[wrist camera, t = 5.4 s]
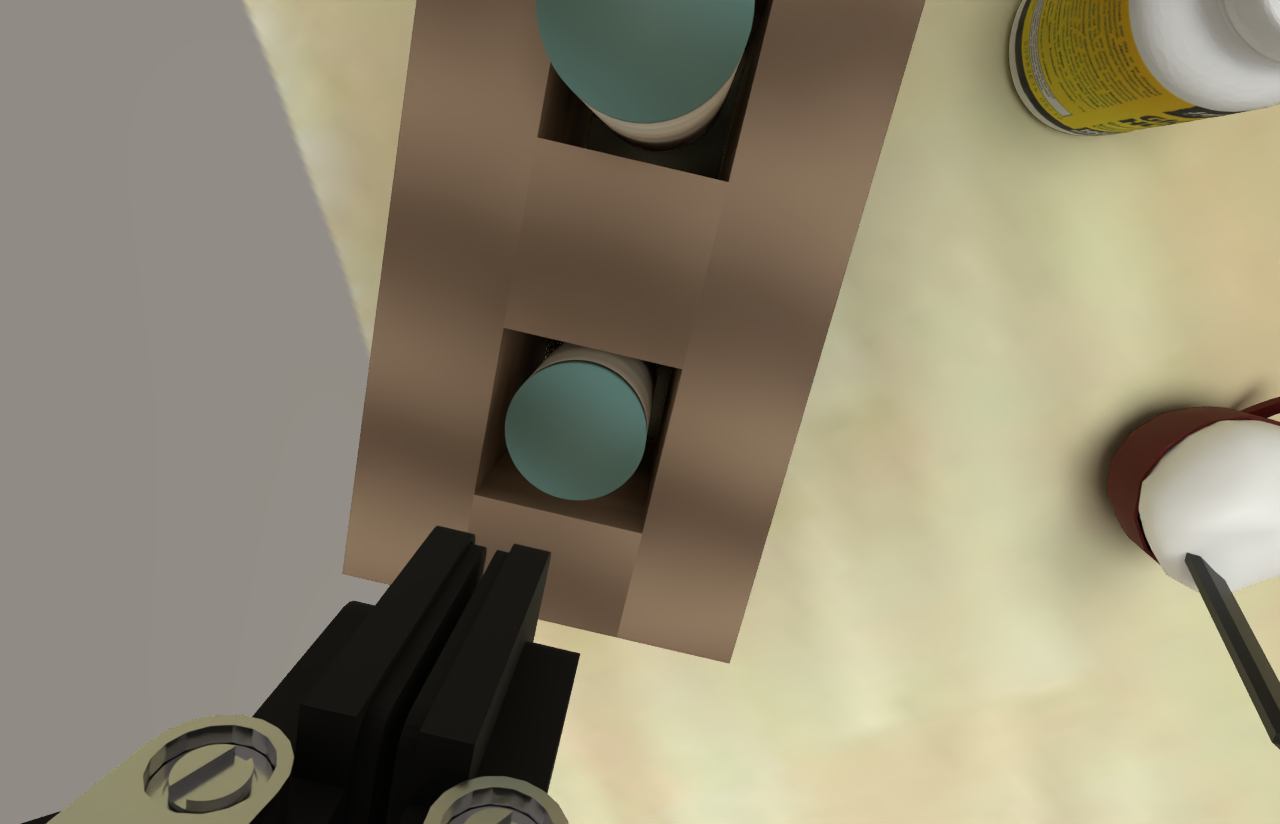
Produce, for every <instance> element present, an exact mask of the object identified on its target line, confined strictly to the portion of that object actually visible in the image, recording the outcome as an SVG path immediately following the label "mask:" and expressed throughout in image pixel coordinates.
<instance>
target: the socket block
mask: <svg viewBox="0 0 1280 824" xmlns="http://www.w3.org/2000/svg"><path fill="white" fill-rule="evenodd" d="M924 4H925V0H755V5H754V16H753V22H752V27H751V31H750V35H749V38H748V41H747V43H749V44H750V48H749V52H748V56H747V60H746V64H745V68H744V73H743V77H742V81H741V85H740V89H739V93H738V97H737V102H736V106H735V110H734V114H733V118H732V122H731V126H730V130H729V135H728V139H727V143H726V147H725V151H724V155H723V159H722V164H721V168H720V172H719V176H718V180H717V179H713V178H709V177H704V176H700V175H696V174H692V173H687V172H683V171H679V170H675V169H670V168H666V167H662V166H657V165H653V164H649V163H645V162H640V161H636V160H632V159H627V158H623V157H619V156H615V155H610V154H606V153H602V152H598V151H593V150H589V149H585V145H586V140H587V135H588V130H589V125H590V120H591V115H592V110H591V109H590V108H589V107H588V106H587V105H586V104H585V103H584V102H583V101H582V100H581V99H580V98H579V97H578V96H577V95H576V94H575V93H574V92H573V91H572V90H571V89H570V88H569V87H568V86H567V84H566V83H565V82H564V81H563V80H562V79H561V77H560V76H559V74H558V73H557V71H556V70H555V69H554V67H553V65H552V63H551V61H550V59H549V57H548V55H547V53H546V50H545V48H544V45H543V43H542V40H541V36H540V32H539V28H538V22H537V14H536V0H417V1H416V9H415V17H414V25H413V32H412V40H411V48H410V56H409V63H408V71H407V79H406V86H405V94H404V102H403V110H402V117H401V125H400V133H399V140H398V148H397V156H396V164H395V171H394V179H393V187H392V195H391V202H390V210H389V218H388V225H387V233H386V241H385V249H384V256H383V264H382V272H381V280H380V287H379V295H378V303H377V310H376V318H375V326H374V334H373V341H372V349H371V357H370V364H369V372H368V380H367V388H366V395H365V403H364V411H363V419H362V426H361V434H360V442H359V450H358V457H357V465H356V473H355V480H354V488H353V496H352V504H351V511H350V520H349V527H348V535H347V542H346V551H345V558H344V565H343V573H342V574H345V575H350V576H354V577H359V578H362V579H367V580H371V581H376V582H380V583H384V584H389V585H391V584H392V583H393V581H394V580H395V579H396V577H397V576H398V575H399V574H400V572H401V571H402V570H403V568H404V567H405V566H406V564H407V563H408V562H409V560H410V559H411V558H412V556H413V555H414V554H415V553H416V551H417V550H418V549H419V547H420V546H421V545H422V543H423V542H424V541H425V539H426V538H427V537H428V535H429V534H430V533H431V531H432V530H433V529H434V528H435V527H436V526H442V527H447V528H451V529H455V530H459V531H464V532H468V533H472V534H475V537H476V538H475V545H479V546H484V547H486V548H487V554H486V560H485V566H484V571H483V574H484V573H485V571H486V569H487V567H488V565H489V563H490V561H491V560H492V558H493V556H494V554H495V552H496V551H497V550H501V551H505V552H510V550H511V548H512V546H513V544H519V545H524V546H528V547H532V548H536V549H541V550H545V551H549V552H551V559H550V564H549V569H548V574H547V579H546V583H545V588H544V593H543V598H542V602H541V607H540V612H539V617H538V619H540V620H544V621H548V622H552V623H557V624H561V625H565V626H570V627H574V628H578V629H583V630H587V631H591V632H596V633H600V634H604V635H609V636H613V637H617V638H622V639H626V640H630V641H634V642H639V643H643V644H647V645H652V646H656V647H660V648H665V649H669V650H673V651H678V652H682V653H686V654H691V655H695V656H699V657H704V658H708V659H712V660H717V661H721V662H725V663H730V660H731V657H732V653H733V650H734V647H735V643H736V640H737V636H738V633H739V630H740V626H741V623H742V619H743V616H744V613H745V609H746V606H747V603H748V599H749V596H750V592H751V589H752V586H753V582H754V579H755V575H756V572H757V569H758V565H759V562H760V559H761V555H762V552H763V548H764V545H765V542H766V538H767V535H768V531H769V528H770V525H771V521H772V518H773V515H774V511H775V508H776V504H777V501H778V498H779V494H780V491H781V488H782V484H783V481H784V477H785V474H786V471H787V467H788V464H789V460H790V457H791V454H792V450H793V447H794V444H795V440H796V437H797V433H798V430H799V427H800V423H801V420H802V416H803V413H804V410H805V406H806V403H807V400H808V396H809V393H810V389H811V386H812V383H813V379H814V376H815V372H816V369H817V366H818V362H819V359H820V356H821V352H822V349H823V345H824V342H825V339H826V335H827V332H828V328H829V325H830V322H831V318H832V315H833V312H834V308H835V305H836V301H837V298H838V295H839V291H840V288H841V285H842V281H843V278H844V274H845V271H846V268H847V264H848V261H849V257H850V254H851V251H852V247H853V244H854V241H855V237H856V234H857V230H858V227H859V224H860V220H861V217H862V213H863V210H864V207H865V203H866V200H867V197H868V193H869V190H870V186H871V183H872V180H873V176H874V173H875V169H876V166H877V163H878V159H879V156H880V153H881V149H882V146H883V142H884V139H885V136H886V132H887V129H888V125H889V122H890V119H891V115H892V112H893V109H894V105H895V102H896V98H897V95H898V92H899V88H900V85H901V81H902V78H903V75H904V71H905V68H906V65H907V61H908V58H909V54H910V51H911V48H912V44H913V41H914V38H915V34H916V31H917V27H918V24H919V21H920V17H921V14H922V10H923V7H924ZM548 338H550V339H554V340H559V341H563V342H567V343H572V344H576V345H580V346H584V347H589V348H593V349H597V350H602V351H606V352H610V353H614V354H619V355H623V356H627V357H632V358H636V359H640V360H644V361H649V362H653V363H657V364H662V365H666V366H670V367H672V370H671V374H670V379H669V383H668V387H667V391H666V395H665V399H664V403H663V407H662V412H661V416H660V420H659V424H658V428H657V432H656V436H655V441H653V440H649V439H646V444H645V450H644V453H643V456H642V459H641V461H640V463H639V466H638V467H637V469H636V470H635V472H634V473H633V475H632V476H631V477H630V478H629V479H628V480H627V481H626V482H625V483H624V484H623V485H622V486H620V487H619V488H617V489H616V490H614V491H613V492H611V493H609V494H607V495H604V496H601V497H598V498H594V499H589V500H568V499H562V498H558V497H555V496H552V495H550V494H547V493H545V492H543V491H542V490H540V489H538V488H536V487H535V486H534V485H533V484H531V483H530V482H529V481H528V480H527V479H526V478H525V477H524V476H523V475H522V474H521V473H520V471H519V470H518V469H517V467H516V466H515V464H514V462H513V461H512V458H511V456H510V454H509V451H508V448H507V445H506V438H505V420H506V415H507V411H508V408H509V406H510V403H511V401H512V399H513V397H514V396H515V394H516V392H517V391H518V390H519V389H520V387H521V386H522V385H523V384H524V383H525V382H526V381H527V379H528V378H529V377H530V376H531V375H532V374H533V373H534V372H535V371H536V369H537V368H538V367H539V366H540V365H541V364H542V363H543V362H544V357H545V352H546V347H547V342H548Z"/></svg>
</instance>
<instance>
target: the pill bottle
mask: <svg viewBox="0 0 1280 824" xmlns="http://www.w3.org/2000/svg"><path fill="white" fill-rule="evenodd" d="M1009 63H1010V69H1011V75H1012V79H1013V82H1014V85H1015V88H1016V90H1017V93H1018V95H1019V96H1020V98H1021V100H1022V101H1023V103H1024V104H1025V106H1026V107H1027V108H1028V109H1029V110H1030V111H1031V113H1032V114H1033V115H1035V116H1036V117H1037V118H1038V119H1039V120H1040V121H1042V122H1043V123H1045V124H1046V125H1048V126H1050V127H1052V128H1054V129H1056V130H1059V131H1062V132H1065V133H1069V134H1073V135H1082V136H1098V135H1111V134H1118V133H1125V132H1129V131H1133V130H1139V129H1145V128H1151V127H1158V126H1165V125H1171V124H1177V123H1182V122H1189V121H1194V120H1200V119H1206V118H1212V117H1218V116H1224V115H1230V114H1235V113H1240V112H1246V111H1251V110H1257V109H1261V108H1267V107H1270V106H1273V105H1277V104H1280V0H1022V2H1021V4H1020V6H1019V9H1018V11H1017V13H1016V16H1015V19H1014V23H1013V26H1012V30H1011V35H1010V42H1009Z"/></svg>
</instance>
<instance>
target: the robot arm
mask: <svg viewBox="0 0 1280 824" xmlns="http://www.w3.org/2000/svg"><path fill="white" fill-rule="evenodd" d="M475 538H476V537H475V534H472V533H468V532H464V531H459V530H455V529H451V528H447V527H442V526H436V527H435V528H434V529H433V530H432V531H431V533H430V534H429V535H428V537H427V538H426V539H425V541H424V542H423V543H422V545H421V546H420V547H419V549H418V550H417V551H416V553H415V554H414V555H413V556H412V558H411V559H410V560H409V562H408V563H407V564H406V566H405V567H404V568H403V570H402V571H401V572H400V574H399V575H398V576H397V577H396V579H395V580H394V581H393V583H392V584H391V585H390V587H389V588H388V589H387V591H386V592H385V593H384V595H383V596H382V597H381V599H380V600H379V602H378V603H377V604H376V605H375V606H374V605H370V604H366V603H361V602H357V601H351V602H349V603H348V604H347V605H346V606H344V607H343V608H342V610H341V611H340V612H339V613H338V614H337V616H336V617H335V618H334V619H333V620H332V622H331V623H330V624H329V625H328V626H327V628H326V629H325V630H324V631H323V633H322V634H321V635H320V636H319V637H318V638H317V640H316V641H315V642H314V643H313V645H312V646H311V647H310V648H309V649H308V650H307V652H306V653H305V654H304V655H303V656H302V658H301V659H300V660H299V661H298V662H297V664H296V665H295V666H294V667H293V668H292V670H291V671H290V672H289V673H288V674H287V676H286V677H285V678H284V679H283V680H282V682H281V683H280V684H279V685H278V686H277V688H276V689H275V690H274V691H273V693H272V694H271V695H270V696H269V697H268V698H267V700H266V701H265V702H264V703H263V704H262V706H261V707H260V708H259V709H258V710H257V712H256V713H255V714H254V715H253V716H252V717H249V716H244V715H215V716H210V717H204V718H199V719H194V720H191V721H188V722H186V723H183V724H180V725H178V726H175V727H172V728H170V729H168V730H167V731H165V732H163V733H162V734H160V735H159V736H157V737H156V738H154V739H152V740H151V741H149V742H148V743H146V744H145V745H144V746H143V747H141V748H140V749H139V750H138V751H137V752H135V753H134V754H133V755H131V756H130V757H129V758H128V759H126V760H125V761H124V762H123V763H121V764H120V765H119V766H118V767H116V768H115V769H114V770H112V771H111V772H110V773H109V774H107V775H106V776H105V777H104V778H102V779H101V780H100V781H99V782H98V783H96V784H95V785H94V786H92V787H91V788H90V789H89V790H87V791H86V792H85V793H84V794H82V795H81V796H80V797H79V798H77V799H76V800H75V801H74V802H72V803H71V804H70V805H69V806H67V807H66V808H65V809H64V810H62V811H60V812H57V813H53V814H50V815H47V816H44V817H41V818H38V819H34V820H32V821H28V822H25V823H22V824H569V823H568V820H567V819H566V817H565V815H564V813H563V811H562V810H561V808H560V806H559V805H558V804H557V803H556V802H555V801H554V800H553V799H552V798H551V797H550V796H549V795H548V794H547V793H548V789H549V784H550V780H551V776H552V772H553V768H554V764H555V759H556V755H557V751H558V747H559V742H560V738H561V734H562V730H563V725H564V721H565V717H566V713H567V708H568V704H569V700H570V695H571V691H572V687H573V683H574V678H575V674H576V670H577V665H578V661H579V657H580V653H576V652H571V651H567V650H563V649H558V648H554V647H550V646H546V645H541V644H537V643H533V640H534V636H535V631H536V626H537V621H538V617H539V612H540V607H541V602H542V598H543V593H544V588H545V583H546V579H547V574H548V569H549V564H550V559H551V552H549V551H545V550H541V549H536V548H532V547H528V546H524V545H519V544H513V546H512V548H511V550H510V552H505V551H501V550H497V551H496V552H495V554H494V556H493V558H492V560H491V561H490V563H489V565H488V567H487V569H486V571H485V573H484V574H483V571H484V566H485V560H486V554H487V548H486V547H484V546H479V545H475Z"/></svg>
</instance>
